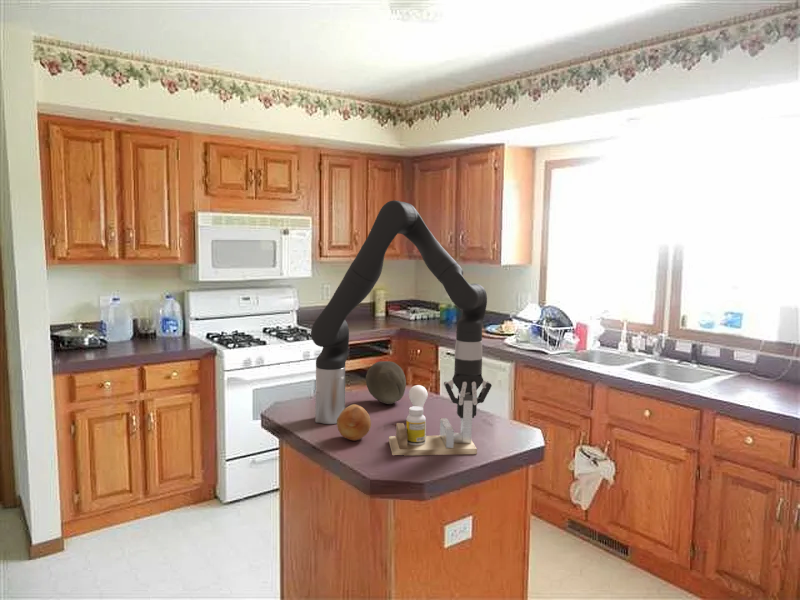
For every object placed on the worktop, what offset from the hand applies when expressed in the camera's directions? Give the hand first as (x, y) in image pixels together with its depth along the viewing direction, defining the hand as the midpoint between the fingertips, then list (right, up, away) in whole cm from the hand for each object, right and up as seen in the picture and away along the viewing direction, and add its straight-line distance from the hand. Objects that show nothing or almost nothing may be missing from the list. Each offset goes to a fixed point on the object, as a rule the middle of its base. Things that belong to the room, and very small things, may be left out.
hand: (466, 417), depth 161 cm
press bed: (-10, -9, 0) cm, 13 cm away
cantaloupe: (-24, -4, +42) cm, 49 cm away
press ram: (-3, -7, 0) cm, 7 cm away
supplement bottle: (-14, -7, -1) cm, 16 cm away
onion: (-32, -8, +6) cm, 33 cm away
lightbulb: (-13, -6, +26) cm, 29 cm away
